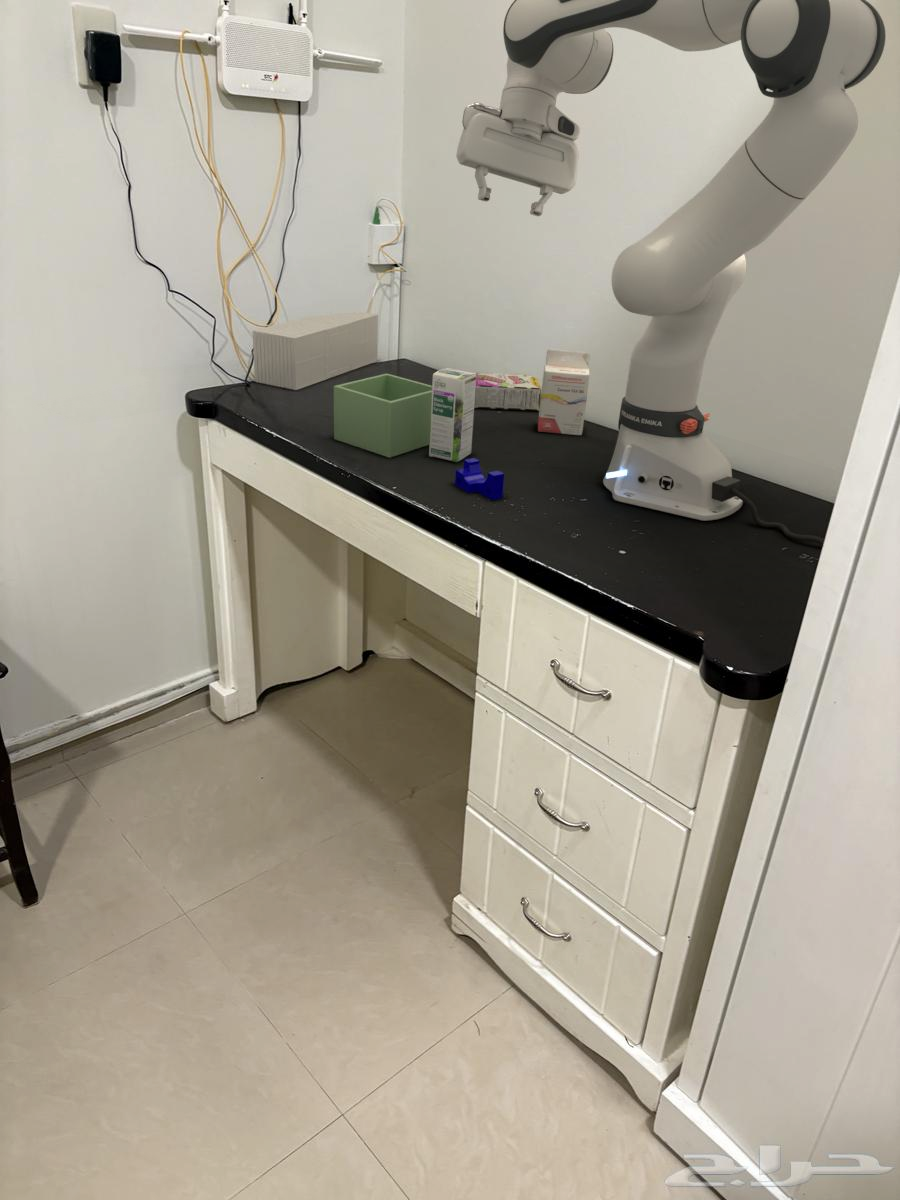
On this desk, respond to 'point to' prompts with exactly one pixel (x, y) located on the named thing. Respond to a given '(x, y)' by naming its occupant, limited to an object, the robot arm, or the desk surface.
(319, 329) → the stack of papers
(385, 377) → the waste bin
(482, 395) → the candy bar box
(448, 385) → the syrup box
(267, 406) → the desk surface
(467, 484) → the cable holder
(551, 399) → the ink cartridge box
